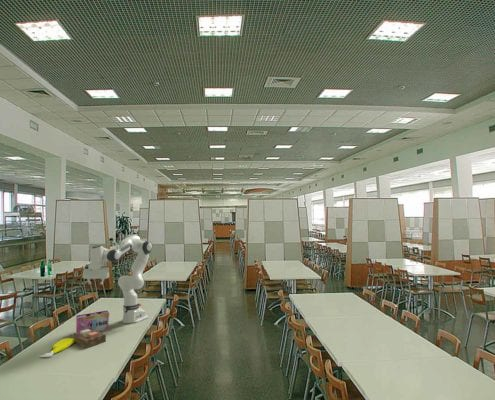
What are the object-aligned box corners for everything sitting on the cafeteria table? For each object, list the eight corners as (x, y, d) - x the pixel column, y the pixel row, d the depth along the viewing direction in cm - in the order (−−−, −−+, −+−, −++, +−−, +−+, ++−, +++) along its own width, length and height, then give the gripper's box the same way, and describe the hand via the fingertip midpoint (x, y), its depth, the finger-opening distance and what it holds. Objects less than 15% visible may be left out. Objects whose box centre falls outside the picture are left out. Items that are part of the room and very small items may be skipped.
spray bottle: (76, 341, 223) (54, 358, 198) (61, 342, 223) (37, 359, 199) (76, 337, 223) (54, 354, 198) (61, 338, 223) (37, 354, 199)
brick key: (94, 337, 225) (94, 331, 225) (98, 338, 222) (98, 332, 222) (87, 339, 221) (87, 333, 221) (91, 340, 218) (91, 335, 218)
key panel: (91, 335, 235) (91, 329, 236) (105, 341, 224) (105, 334, 224) (72, 342, 224) (72, 335, 224) (86, 348, 213) (86, 340, 213)
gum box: (108, 326, 256) (108, 310, 257) (110, 329, 249) (110, 312, 250) (75, 332, 242) (76, 315, 243) (76, 335, 236) (77, 317, 237)
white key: (87, 334, 231) (87, 328, 231) (90, 335, 228) (90, 330, 228) (80, 336, 226) (80, 331, 226) (83, 337, 223) (83, 332, 224)
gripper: (111, 265, 242) (110, 283, 241) (86, 265, 243) (85, 283, 242) (106, 267, 236) (106, 285, 235) (81, 266, 237) (80, 285, 236)
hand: (95, 284), depth 238 cm, fingers open, 8 cm apart
